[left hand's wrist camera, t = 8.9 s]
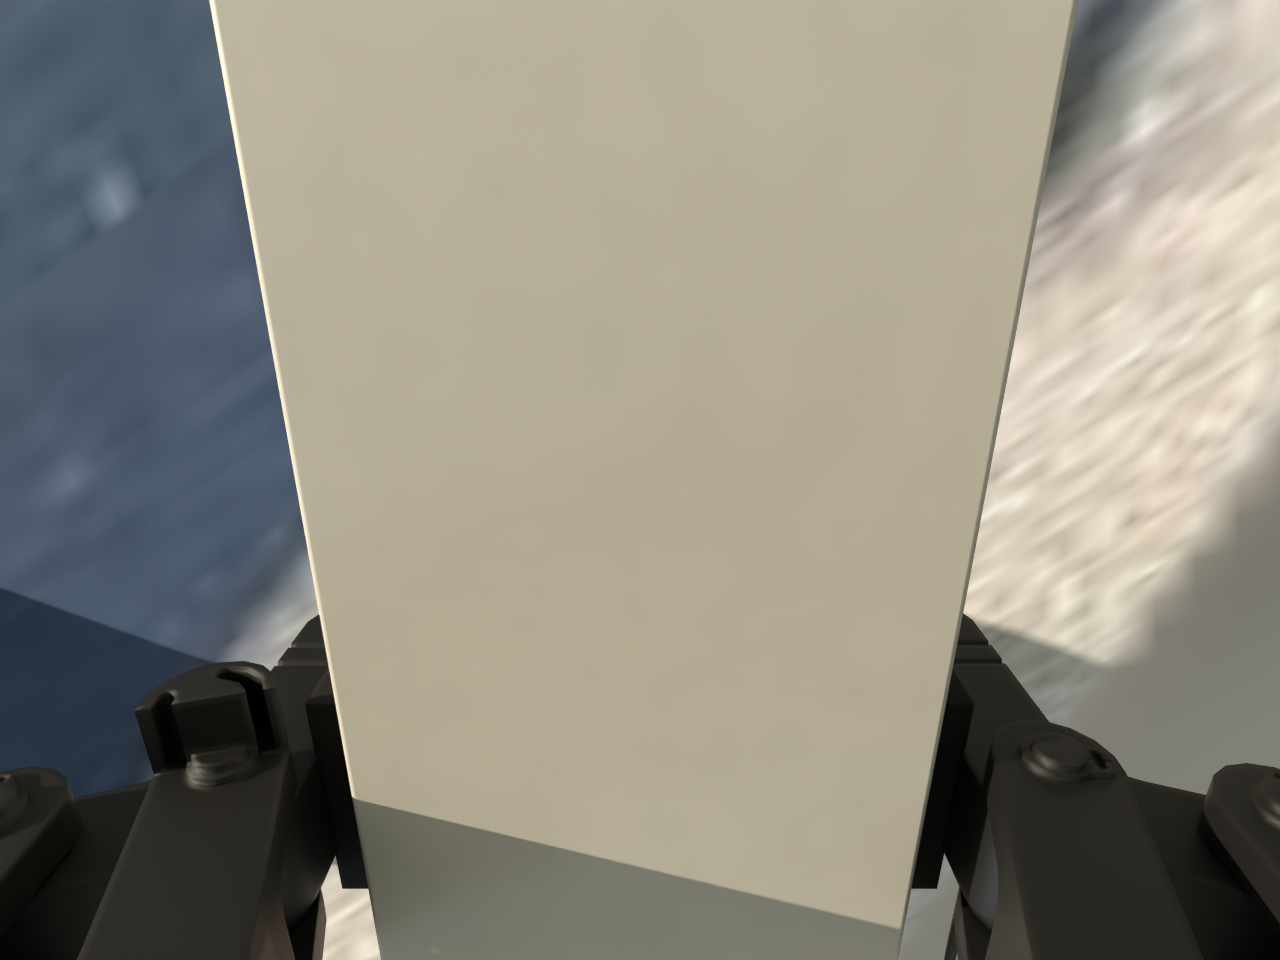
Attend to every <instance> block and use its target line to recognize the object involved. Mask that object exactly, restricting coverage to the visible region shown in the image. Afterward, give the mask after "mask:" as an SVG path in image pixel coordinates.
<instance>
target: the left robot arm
mask: <svg viewBox="0 0 1280 960" xmlns="http://www.w3.org/2000/svg"><path fill="white" fill-rule="evenodd" d="M135 714H136V717H137V720H138V724H139V727H140V730H141V733H142V737H143V740H144V743H145V746H146V749H147V753H148V756H149V759H150V762H151V766H152V769H153V772H154V776H153V778H152V780H150V781H146V782H143V783H139V784H136V785H132V786H127V787H123V788H118V789H114V790H109V791H105V792H100V793H96V794H91V795H87V796H82V797H78V798H74V797H73V794H72V792H71V789H70V786H69V783H68V781H67V778H66V777H64V776H63V775H62V774H60V773H59V772H58V771H57V770H55V769H50V768H41V767H28V768H21V769H14V770H8V771H4V772H1V773H0V960H322V957H323V947H324V937H325V927H326V913H325V906H324V900H323V896H322V891H321V886H322V884H323V882H324V880H325V878H326V875H327V873H328V871H329V869H330V866H331V864H332V862H333V860H334V857H335V855H336V859H337V864H338V869H339V874H340V879H341V884H342V889H368V883H367V877H366V872H365V866H364V861H363V855H362V850H361V844H360V838H359V833H358V827H357V822H356V816H355V810H354V805H353V799H352V794H351V788H350V782H349V777H348V771H347V766H346V760H345V755H344V749H343V743H342V738H341V732H340V727H339V721H338V715H337V710H336V704H335V699H334V693H333V688H332V682H331V676H330V671H329V665H328V660H327V654H326V648H325V643H324V637H323V632H322V626H321V620H320V615H317V616H316V617H314V618H313V619H311V620H310V621H308V622H307V624H306V625H305V626H304V628H303V629H302V630H301V632H300V633H299V634H298V636H297V637H296V638H295V640H294V641H293V642H292V646H291V648H288V649H287V650H286V652H285V653H284V654H283V656H282V657H281V658H280V660H279V661H278V666H274V668H273V669H272V670H271V672H270V671H269V670H268V669H267V668H266V667H264V666H263V665H259V664H255V663H250V662H246V661H239V662H220V663H216V664H212V665H208V666H204V667H200V668H196V669H193V670H190V671H188V672H186V673H184V674H181V675H179V676H177V677H174V678H172V679H170V680H168V681H166V682H165V683H164V684H162V685H161V686H159V687H158V688H156V689H155V690H154V691H152V692H151V693H149V694H148V695H147V696H146V697H145V698H144V700H143V701H142V702H141V703H140V705H139V706H138V707H137V708H136V709H135ZM944 853H945V855H946V857H947V860H948V862H949V864H950V866H951V868H952V871H953V873H954V875H955V877H956V880H957V882H958V884H959V886H960V887H959V891H958V896H957V900H956V905H955V909H954V914H953V918H952V923H951V928H950V932H949V937H948V941H947V946H946V952H945V959H944V960H955V959H956V955H958V960H1280V769H1278V768H1275V767H1268V766H1262V765H1255V764H1249V763H1244V764H1236V765H1228V766H1225V767H1223V768H1222V769H1221V770H1219V771H1218V772H1217V773H1216V774H1214V776H1213V778H1212V781H1211V784H1210V787H1209V789H1208V792H1207V795H1203V794H1199V793H1194V792H1190V791H1185V790H1181V789H1176V788H1172V787H1167V786H1162V785H1158V784H1153V783H1149V782H1145V781H1141V780H1138V779H1134V778H1131V777H1127V774H1126V772H1125V771H1124V770H1123V768H1122V767H1121V765H1120V764H1119V762H1118V761H1117V759H1116V758H1115V757H1114V756H1113V755H1112V754H1111V753H1110V752H1109V751H1107V750H1106V749H1105V748H1103V747H1102V746H1101V745H1100V744H1098V743H1097V742H1096V741H1095V740H1093V739H1091V738H1089V737H1087V736H1085V735H1083V734H1081V733H1079V732H1077V731H1075V730H1073V729H1071V728H1068V727H1064V726H1060V725H1057V724H1053V723H1050V722H1049V721H1048V720H1047V718H1046V717H1045V716H1044V714H1043V713H1042V712H1041V711H1040V709H1039V708H1038V707H1037V705H1036V704H1035V703H1034V701H1033V700H1032V699H1031V697H1030V696H1029V695H1028V693H1027V692H1026V691H1025V689H1024V688H1023V687H1022V685H1021V684H1020V683H1019V681H1018V680H1017V679H1016V677H1015V676H1014V675H1013V673H1012V672H1011V671H1010V669H1009V668H1008V667H1007V665H1006V664H1002V659H1001V657H1000V656H999V655H998V653H997V652H996V651H995V649H994V648H993V647H992V645H988V640H987V639H986V637H985V636H984V635H983V633H982V632H981V631H980V629H979V628H978V627H977V625H976V624H975V623H974V622H973V620H972V619H970V618H969V617H967V616H966V615H964V614H963V616H962V621H961V626H960V632H959V637H958V642H957V648H956V653H955V658H954V664H953V669H952V674H951V680H950V685H949V690H948V696H947V701H946V706H945V711H944V717H943V722H942V727H941V733H940V738H939V743H938V749H937V754H936V759H935V765H934V770H933V775H932V781H931V786H930V791H929V797H928V802H927V807H926V812H925V818H924V823H923V828H922V834H921V839H920V844H919V850H918V855H917V860H916V866H915V871H914V876H913V882H912V887H911V889H937V885H938V881H939V876H940V871H941V866H942V861H943V856H944Z"/></svg>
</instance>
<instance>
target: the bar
mask: <svg viewBox="0 0 1280 960" xmlns="http://www.w3.org/2000/svg"><path fill="white" fill-rule="evenodd" d="M1077 5H1078V0H210V6H211V12H212V17H213V23H214V28H215V34H216V40H217V45H218V51H219V56H220V62H221V67H222V73H223V79H224V84H225V90H226V95H227V101H228V107H229V112H230V118H231V123H232V129H233V135H234V140H235V146H236V151H237V157H238V162H239V168H240V174H241V179H242V185H243V190H244V196H245V202H246V207H247V213H248V218H249V224H250V229H251V235H252V241H253V246H254V252H255V257H256V263H257V269H258V274H259V280H260V285H261V291H262V297H263V302H264V308H265V313H266V319H267V324H268V330H269V336H270V341H271V347H272V352H273V358H274V364H275V369H276V375H277V380H278V386H279V391H280V397H281V403H282V408H283V414H284V419H285V425H286V431H287V436H288V442H289V447H290V453H291V458H292V464H293V470H294V475H295V481H296V486H297V492H298V498H299V503H300V509H301V514H302V520H303V526H304V531H305V537H306V542H307V548H308V553H309V559H310V565H311V570H312V576H313V581H314V587H315V593H316V598H317V604H318V609H319V615H320V620H321V626H322V632H323V637H324V643H325V648H326V654H327V660H328V665H329V671H330V676H331V682H332V688H333V693H334V699H335V704H336V710H337V715H338V721H339V727H340V732H341V738H342V743H343V749H344V755H345V760H346V766H347V771H348V777H349V782H350V788H351V794H352V799H353V805H354V810H355V816H356V822H357V827H358V833H359V838H360V844H361V850H362V855H363V861H364V866H365V872H366V877H367V883H368V889H369V894H370V900H371V905H372V911H373V917H374V922H375V928H376V933H377V939H378V944H379V950H380V956H381V960H898V956H899V951H900V945H901V940H902V935H903V929H904V924H905V919H906V913H907V908H908V903H909V898H910V892H911V887H912V882H913V876H914V871H915V866H916V860H917V855H918V850H919V844H920V839H921V834H922V828H923V823H924V818H925V812H926V807H927V802H928V797H929V791H930V786H931V781H932V775H933V770H934V765H935V759H936V754H937V749H938V743H939V738H940V733H941V727H942V722H943V717H944V711H945V706H946V701H947V696H948V690H949V685H950V680H951V674H952V669H953V664H954V658H955V653H956V648H957V642H958V637H959V632H960V626H961V621H962V616H963V611H964V605H965V600H966V595H967V589H968V584H969V579H970V573H971V568H972V563H973V557H974V552H975V547H976V541H977V536H978V531H979V525H980V520H981V515H982V510H983V504H984V499H985V494H986V488H987V483H988V478H989V472H990V467H991V462H992V456H993V451H994V446H995V440H996V435H997V430H998V424H999V419H1000V414H1001V409H1002V403H1003V398H1004V393H1005V387H1006V382H1007V377H1008V371H1009V366H1010V361H1011V355H1012V350H1013V345H1014V339H1015V334H1016V329H1017V323H1018V318H1019V313H1020V308H1021V302H1022V297H1023V292H1024V286H1025V281H1026V276H1027V270H1028V265H1029V260H1030V254H1031V249H1032V244H1033V238H1034V233H1035V228H1036V223H1037V217H1038V212H1039V207H1040V201H1041V196H1042V191H1043V185H1044V180H1045V175H1046V169H1047V164H1048V159H1049V153H1050V148H1051V143H1052V137H1053V132H1054V127H1055V122H1056V116H1057V111H1058V106H1059V100H1060V95H1061V90H1062V84H1063V79H1064V74H1065V68H1066V63H1067V58H1068V52H1069V47H1070V42H1071V36H1072V31H1073V26H1074V21H1075V15H1076V10H1077Z"/></svg>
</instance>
